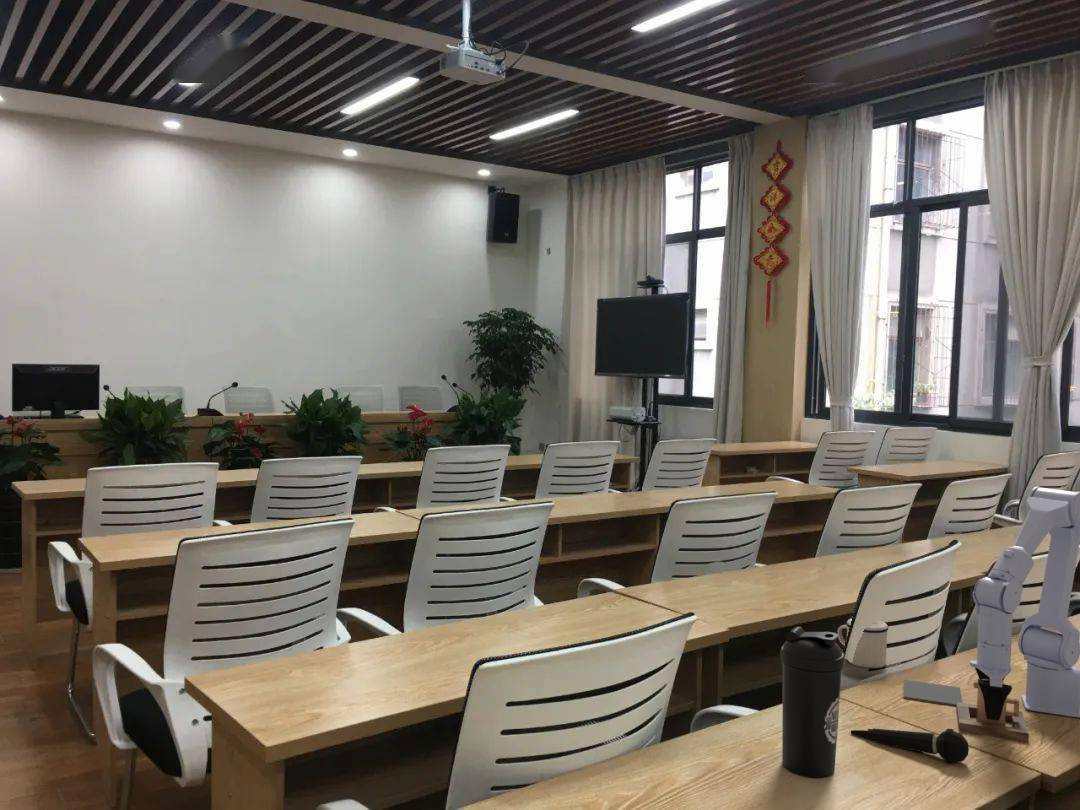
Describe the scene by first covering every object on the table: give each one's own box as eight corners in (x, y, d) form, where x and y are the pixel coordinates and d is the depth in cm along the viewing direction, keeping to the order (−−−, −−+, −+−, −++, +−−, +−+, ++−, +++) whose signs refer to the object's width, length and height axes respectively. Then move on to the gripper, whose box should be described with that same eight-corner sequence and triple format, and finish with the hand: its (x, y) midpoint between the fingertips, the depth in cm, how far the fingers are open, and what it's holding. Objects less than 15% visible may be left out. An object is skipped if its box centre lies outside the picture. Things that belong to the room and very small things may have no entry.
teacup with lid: (894, 664, 205) (896, 613, 205) (872, 671, 200) (874, 620, 199) (848, 650, 215) (850, 602, 214) (826, 657, 209) (827, 607, 209)
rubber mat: (960, 689, 190) (960, 687, 190) (962, 707, 180) (962, 705, 180) (904, 681, 194) (904, 679, 194) (903, 698, 184) (903, 696, 184)
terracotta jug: (972, 726, 170) (974, 685, 169) (971, 717, 174) (973, 676, 174) (1019, 734, 167) (1021, 691, 166) (1016, 724, 171) (1018, 683, 171)
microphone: (849, 754, 164) (967, 773, 151) (843, 727, 163) (962, 744, 150) (858, 736, 168) (974, 753, 156) (852, 709, 167) (968, 724, 154)
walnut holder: (1021, 719, 174) (1021, 711, 174) (1028, 741, 163) (1028, 733, 163) (956, 709, 178) (956, 701, 178) (958, 730, 168) (959, 722, 168)
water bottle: (831, 786, 144) (836, 645, 143) (769, 770, 149) (773, 633, 148) (846, 763, 153) (851, 630, 152) (787, 748, 158) (791, 619, 157)
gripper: (968, 628, 178) (965, 696, 179) (973, 649, 165) (970, 722, 166) (1008, 633, 176) (1005, 701, 176) (1016, 655, 162) (1013, 728, 163)
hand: (991, 712), depth 171 cm, fingers open, 7 cm apart
